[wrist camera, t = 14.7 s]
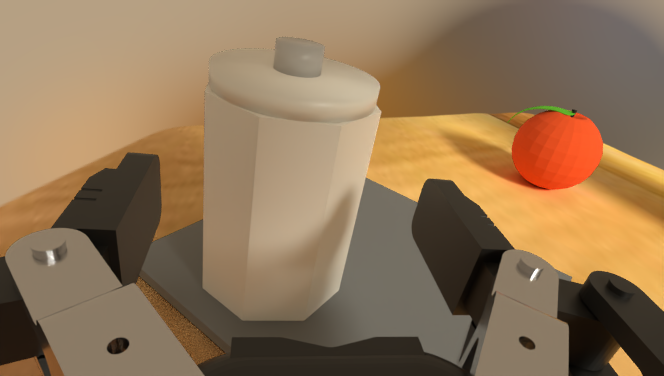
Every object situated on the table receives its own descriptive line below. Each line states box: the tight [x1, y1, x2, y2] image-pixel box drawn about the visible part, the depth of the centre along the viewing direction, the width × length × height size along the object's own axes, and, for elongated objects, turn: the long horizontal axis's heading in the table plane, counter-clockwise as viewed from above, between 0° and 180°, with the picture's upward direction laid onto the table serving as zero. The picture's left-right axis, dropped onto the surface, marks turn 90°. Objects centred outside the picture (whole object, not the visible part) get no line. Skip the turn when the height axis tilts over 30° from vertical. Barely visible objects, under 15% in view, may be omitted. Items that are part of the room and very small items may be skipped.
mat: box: [139, 178, 572, 364], centre depth 22 cm, size 17×18×1 cm
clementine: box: [508, 106, 603, 189], centre depth 35 cm, size 8×7×7 cm
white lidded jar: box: [202, 37, 381, 321], centre depth 17 cm, size 6×6×11 cm
